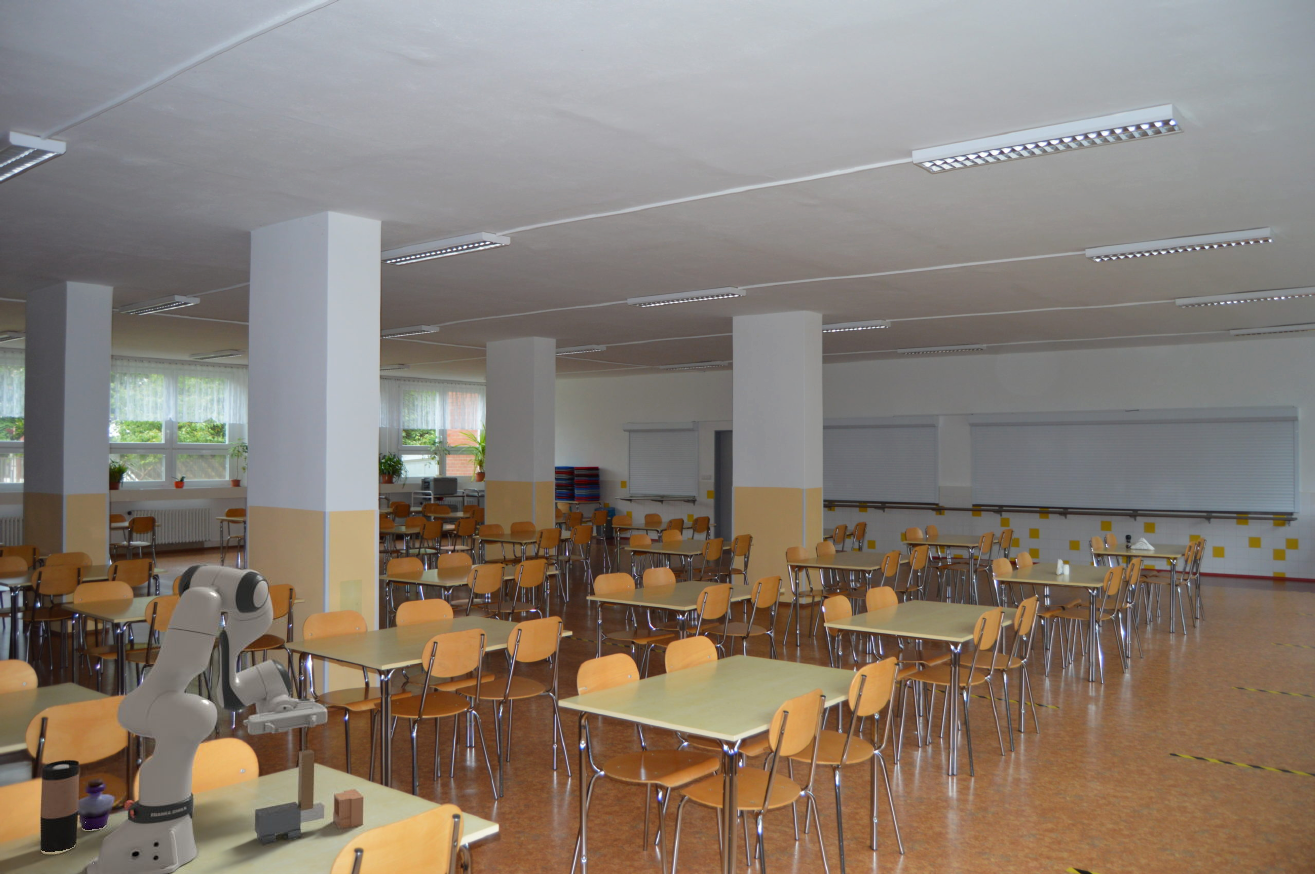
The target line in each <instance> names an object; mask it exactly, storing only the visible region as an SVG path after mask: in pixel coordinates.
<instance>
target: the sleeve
mask: <svg viewBox="0 0 1315 874" xmlns="http://www.w3.org/2000/svg"><path fill="white" fill-rule="evenodd" d="M254 810H255V811H254V832H255V833H256V838H257V840H258V842H259V841H260V842H259V843H260V845H261V846H262V847H263V846H268V845H272V844H276V835H279V834H283V835H284V836H285V838H286V839H287V841H291V840H294V839H299V838H301V837H302V835H301V834H302V829H301V824H302V823H301V808H300V806H299V805H298V802H296V801H293V802H292V801H291V802H287V803H282V804H276V805H272V806H267V807H262V808H257V809H254Z"/></svg>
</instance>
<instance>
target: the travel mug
mask: <svg viewBox="0 0 1315 874" xmlns="http://www.w3.org/2000/svg"><path fill="white" fill-rule="evenodd" d="M41 768H42V769H41V771H42V772H41V791H40V792H41V795H40V817H39V818H40V820H39V821H40V822H39V823H40V851H41V850H42V851H45V852H55V851H63V850H66V849H70V848H72V847H74V845H75V844H76V845H77V837H78V821H79V815H78V801H79V800H80V799H79V797H80V796H79V792H80V791H79V789H80V788H79V787H80V784H79V783H80V782H79V781H80V762H79V761H78V760H75V759H65V760H57V761H53V762H50V763H47V764H45V765H43V766H42V767H41Z"/></svg>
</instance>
